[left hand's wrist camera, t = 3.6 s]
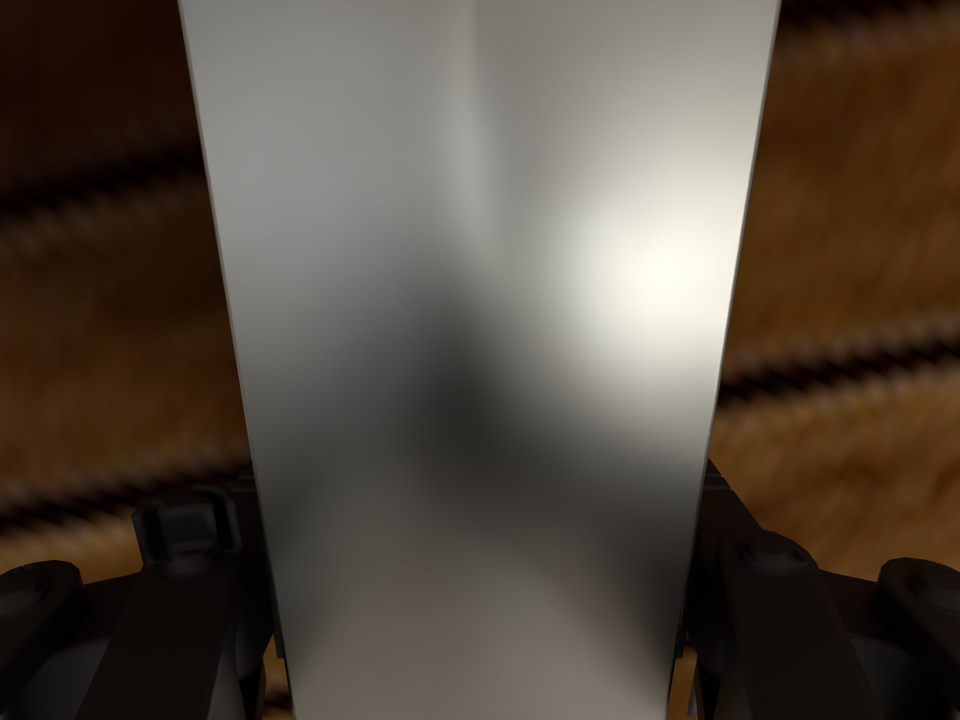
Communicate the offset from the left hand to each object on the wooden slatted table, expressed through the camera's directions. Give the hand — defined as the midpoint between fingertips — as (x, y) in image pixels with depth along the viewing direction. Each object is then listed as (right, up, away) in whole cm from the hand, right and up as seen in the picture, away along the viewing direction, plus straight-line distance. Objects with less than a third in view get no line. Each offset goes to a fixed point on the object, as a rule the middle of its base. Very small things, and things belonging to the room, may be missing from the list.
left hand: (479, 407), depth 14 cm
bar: (0, +7, -2) cm, 8 cm away
